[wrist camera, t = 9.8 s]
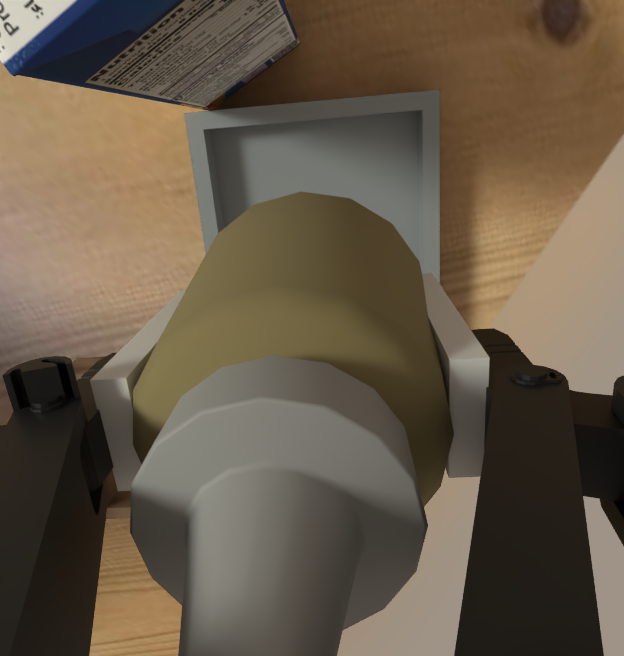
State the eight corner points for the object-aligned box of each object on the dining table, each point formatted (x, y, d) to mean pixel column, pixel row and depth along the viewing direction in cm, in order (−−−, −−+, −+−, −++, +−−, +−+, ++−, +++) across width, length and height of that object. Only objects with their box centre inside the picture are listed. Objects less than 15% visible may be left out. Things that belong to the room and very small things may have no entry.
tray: (227, 333, 39) (220, 346, 36) (194, 114, 33) (184, 113, 31) (433, 320, 38) (439, 333, 35) (432, 92, 32) (439, 89, 30)
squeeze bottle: (322, 407, 23) (285, 1105, 7) (177, 291, 22) (-362, 820, 5) (455, 275, 21) (926, 838, 4) (303, 135, 20) (93, 144, 3)
